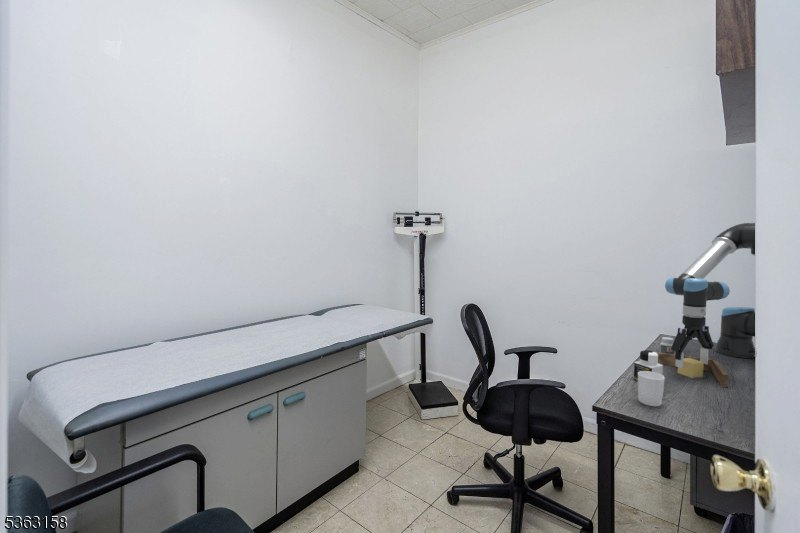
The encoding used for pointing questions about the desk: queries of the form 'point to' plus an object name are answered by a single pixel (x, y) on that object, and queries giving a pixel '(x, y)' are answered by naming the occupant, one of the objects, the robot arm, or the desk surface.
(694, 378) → the mat
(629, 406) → the desk surface
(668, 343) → the pill bottle
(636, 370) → the medicine bottle
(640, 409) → the desk surface
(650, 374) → the white cup
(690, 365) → the cube
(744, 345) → the robot arm
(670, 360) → the angled wooden barrier
